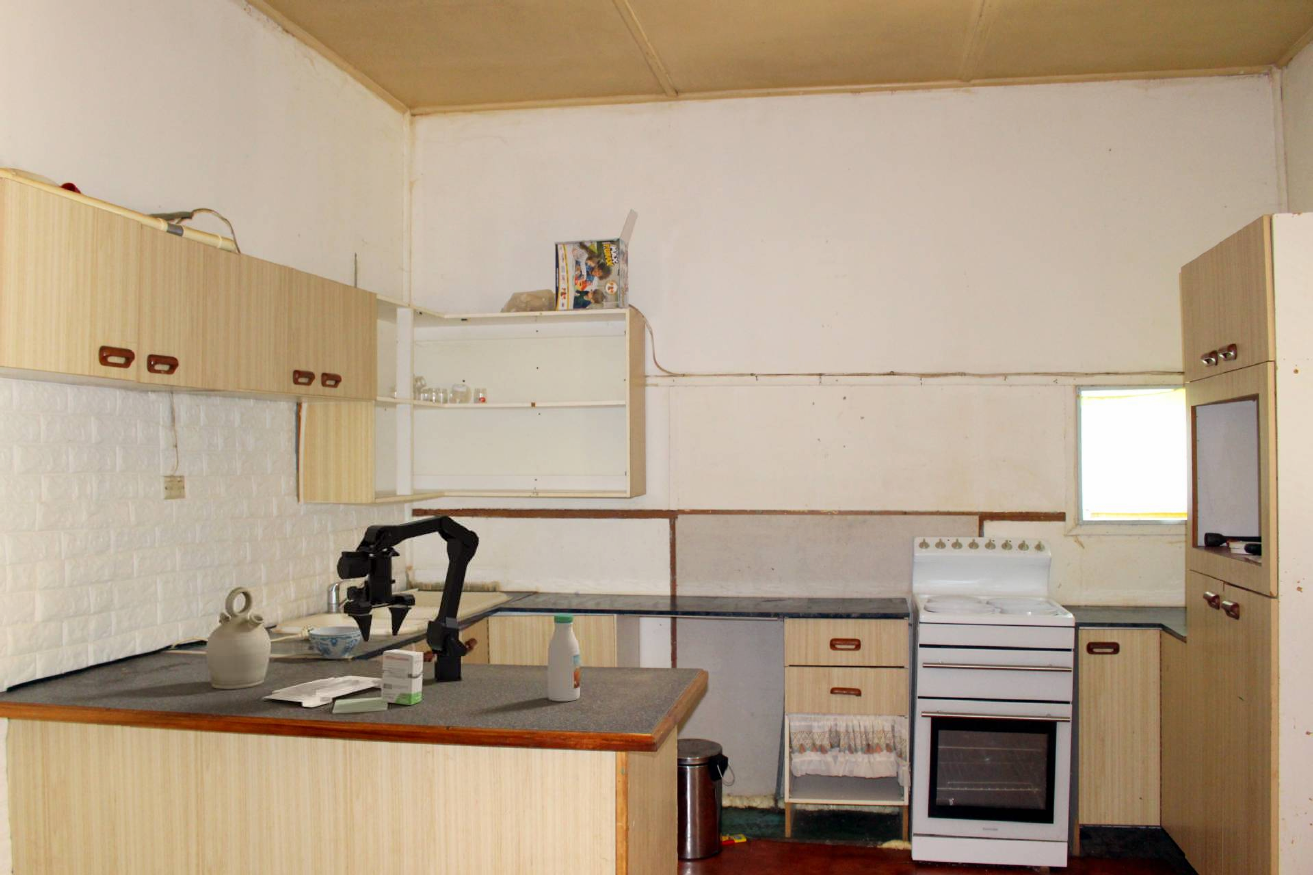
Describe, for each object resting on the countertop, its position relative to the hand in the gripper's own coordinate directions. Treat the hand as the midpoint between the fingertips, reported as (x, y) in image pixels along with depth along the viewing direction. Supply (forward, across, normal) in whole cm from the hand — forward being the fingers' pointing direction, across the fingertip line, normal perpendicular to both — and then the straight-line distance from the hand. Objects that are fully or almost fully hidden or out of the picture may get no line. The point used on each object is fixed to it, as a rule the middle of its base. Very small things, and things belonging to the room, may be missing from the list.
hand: (380, 638), depth 246 cm
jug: (+13, +13, -39) cm, 43 cm away
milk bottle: (+14, -18, +44) cm, 49 cm away
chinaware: (+14, -26, -48) cm, 56 cm away
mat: (+13, +13, +7) cm, 20 cm away
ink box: (+13, +6, +13) cm, 19 cm away
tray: (+13, +7, -11) cm, 19 cm away
